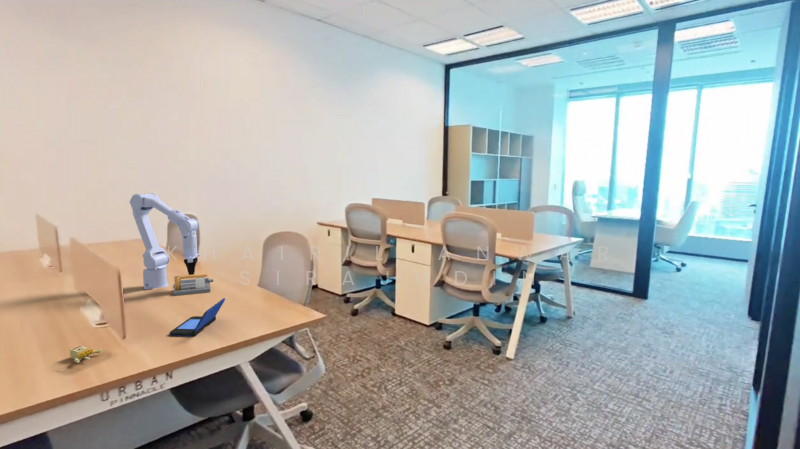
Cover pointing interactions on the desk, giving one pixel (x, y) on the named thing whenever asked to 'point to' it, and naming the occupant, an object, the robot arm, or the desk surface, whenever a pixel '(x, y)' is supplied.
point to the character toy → (82, 353)
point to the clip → (178, 278)
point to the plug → (202, 282)
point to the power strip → (191, 290)
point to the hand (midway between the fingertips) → (191, 274)
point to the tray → (191, 282)
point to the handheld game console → (197, 322)
